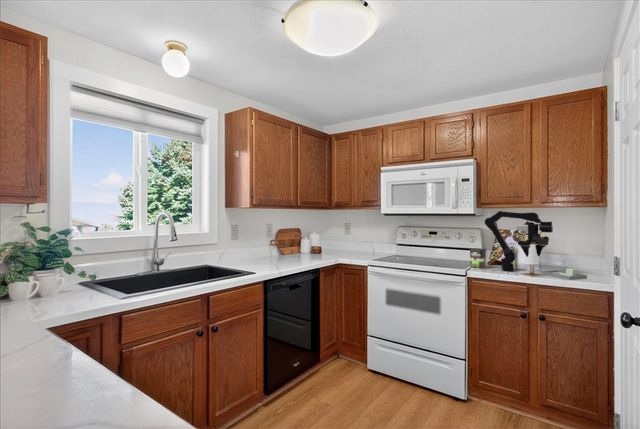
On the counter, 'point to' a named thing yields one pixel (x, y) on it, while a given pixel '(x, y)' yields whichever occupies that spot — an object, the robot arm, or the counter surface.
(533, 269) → the stake stand
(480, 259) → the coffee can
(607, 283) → the counter surface
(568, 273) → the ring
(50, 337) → the counter surface
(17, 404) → the counter surface
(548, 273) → the tray
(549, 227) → the robot arm
